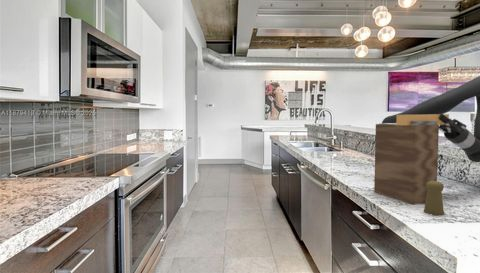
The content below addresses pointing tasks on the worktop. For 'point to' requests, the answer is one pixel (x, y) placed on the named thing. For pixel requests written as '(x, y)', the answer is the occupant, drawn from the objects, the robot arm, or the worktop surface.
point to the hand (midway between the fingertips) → (434, 116)
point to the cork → (434, 198)
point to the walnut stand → (406, 160)
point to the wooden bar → (419, 118)
